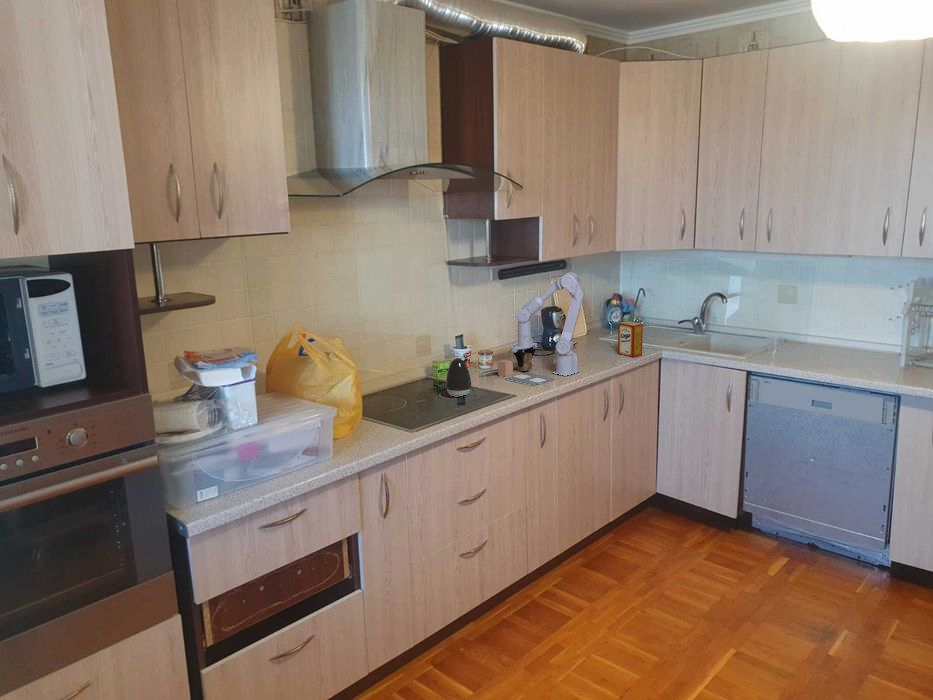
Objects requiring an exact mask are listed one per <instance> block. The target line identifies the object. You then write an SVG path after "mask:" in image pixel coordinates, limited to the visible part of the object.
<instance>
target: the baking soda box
mask: <svg viewBox="0 0 933 700" xmlns="http://www.w3.org/2000/svg"><path fill="white" fill-rule="evenodd" d="M643 327H644V324H643V323H641V322H640V323H639V322H635V321H629V320H628V321H623V322H618V327H617V328H618V329H617V331H618V332H617V333H618V334H617V355H618V354H619V355H618V356H622V355H624V357H627V356H628V358H631V357H632V358H633V359H634V358H637V357H642V356H643V332H644V331H643V330H644V328H643Z"/></svg>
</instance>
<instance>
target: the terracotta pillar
mask: <svg viewBox="0 0 933 700" xmlns="http://www.w3.org/2000/svg"><path fill="white" fill-rule="evenodd" d="M497 370H498V371H497V374H498V375H499V376H502V377H508V376H514V361H513V360H509V359H501V360H498V361H497ZM498 375H497V376H498Z"/></svg>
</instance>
